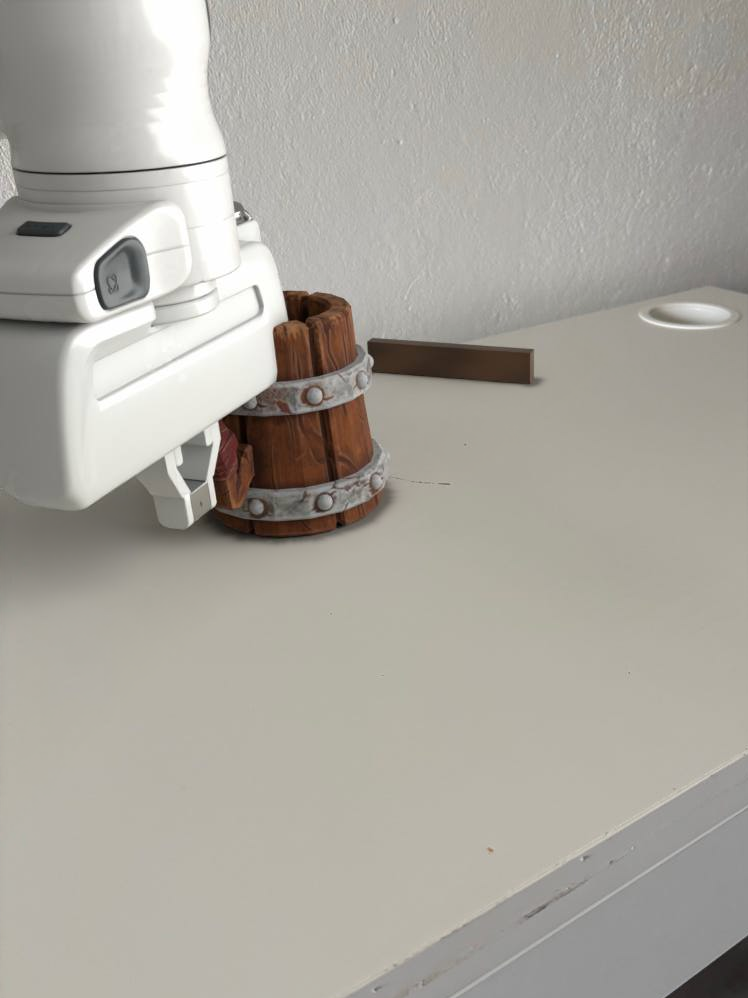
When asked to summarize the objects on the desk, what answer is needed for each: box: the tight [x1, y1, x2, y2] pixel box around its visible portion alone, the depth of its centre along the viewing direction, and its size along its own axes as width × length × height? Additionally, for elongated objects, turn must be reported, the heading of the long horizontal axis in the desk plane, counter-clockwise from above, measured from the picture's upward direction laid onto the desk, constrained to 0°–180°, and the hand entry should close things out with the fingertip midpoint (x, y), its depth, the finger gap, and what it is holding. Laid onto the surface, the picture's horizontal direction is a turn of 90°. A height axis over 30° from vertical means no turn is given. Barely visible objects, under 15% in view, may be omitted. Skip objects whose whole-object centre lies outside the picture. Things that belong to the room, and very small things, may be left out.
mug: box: [211, 290, 391, 538], centre depth 60 cm, size 12×14×15 cm
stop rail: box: [366, 337, 535, 385], centre depth 84 cm, size 14×1×2 cm, turn 72°
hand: (189, 517), depth 53 cm, fingers closed
